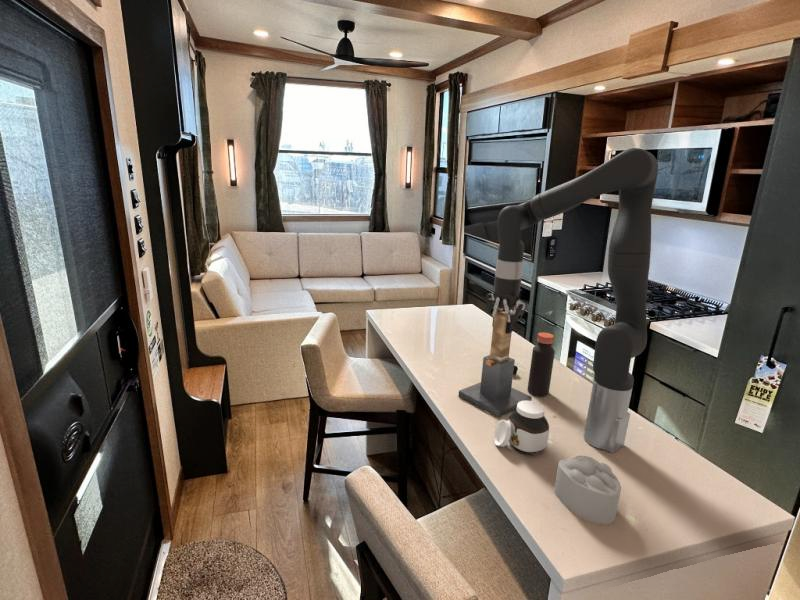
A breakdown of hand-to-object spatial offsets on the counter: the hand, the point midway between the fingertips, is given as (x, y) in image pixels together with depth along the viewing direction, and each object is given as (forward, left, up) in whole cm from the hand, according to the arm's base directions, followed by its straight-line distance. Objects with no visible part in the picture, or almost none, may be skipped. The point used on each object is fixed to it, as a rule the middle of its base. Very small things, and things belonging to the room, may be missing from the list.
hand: (502, 330), depth 135 cm
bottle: (-5, -16, -23) cm, 29 cm away
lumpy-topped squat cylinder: (-42, +20, -23) cm, 52 cm away
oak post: (0, 0, -15) cm, 15 cm away
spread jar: (-20, +15, -23) cm, 34 cm away
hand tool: (+16, -23, -24) cm, 37 cm away
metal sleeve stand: (0, 0, -23) cm, 23 cm away
